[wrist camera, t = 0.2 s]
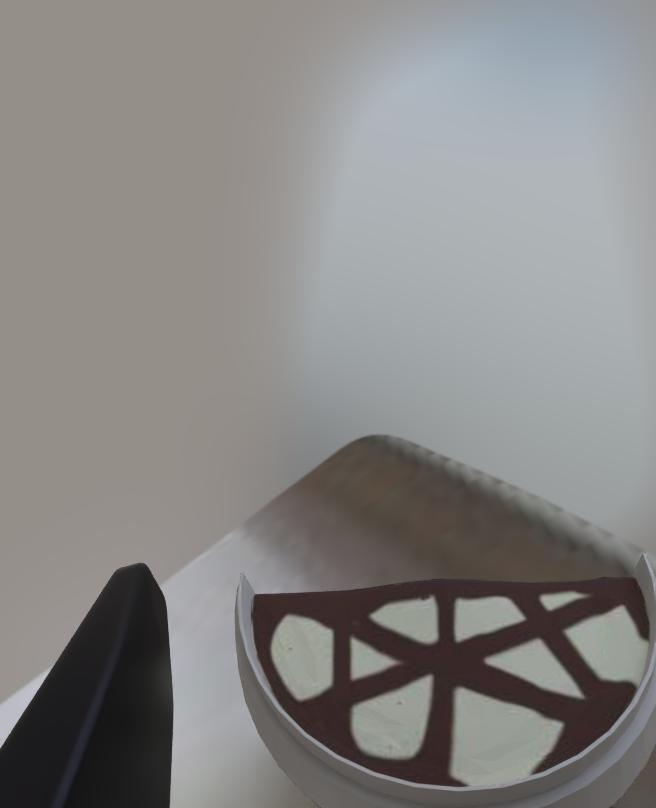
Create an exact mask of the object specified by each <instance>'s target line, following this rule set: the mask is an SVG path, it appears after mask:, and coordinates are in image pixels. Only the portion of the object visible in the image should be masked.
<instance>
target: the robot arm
mask: <svg viewBox="0 0 656 808" xmlns="http://www.w3.org/2000/svg"><path fill="white" fill-rule="evenodd" d="M172 738H173V688H172V674H171V660H170V646H169V632H168V619H167V606H166V601H165V598H164V595H163V593H162V591H161V589H160V587H159V586H158V584H157V582H156V580H155V579H154V577H153V575H152V573H151V571H150V570H149V568H148V567H147V565H146V564H144V563H137V564H133V565H129V566H126V567H122V568H119V569H118V570H117V571H115V573H114V574H113V575H112V577H111V578H110V580H109V581H108V583H107V584H106V586H105V587H104V589H103V591H102V592H101V594H100V595H99V597H98V598H97V600H96V602H95V603H94V604H93V606H92V608H91V609H90V611H89V612H88V614H87V615H86V617H85V618H84V620H83V621H82V623H81V625H80V626H79V628H78V629H77V631H76V632H75V634H74V635H73V637H72V639H71V640H70V642H69V643H68V645H67V646H66V648H65V649H64V651H63V652H62V654H61V656H60V657H59V659H58V660H57V662H56V663H55V665H54V666H53V668H52V669H51V671H50V673H49V674H48V676H47V677H46V679H45V680H44V682H43V683H42V685H41V686H40V688H39V690H38V691H37V693H36V694H35V696H34V697H33V699H32V700H31V702H30V704H29V705H28V707H27V708H26V710H25V711H24V713H23V714H22V716H21V717H20V719H19V721H18V722H17V724H16V725H15V727H14V728H13V730H12V731H11V733H10V734H9V736H8V738H7V739H6V741H5V742H4V744H3V745H2V747H1V748H0V808H170V787H171V763H172Z"/></svg>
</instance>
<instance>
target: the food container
mask: <svg viewBox="0 0 656 808" xmlns="http://www.w3.org/2000/svg"><path fill="white" fill-rule="evenodd" d="M235 636H236V648H237V658H238V668H239V674H240V678H241V683H242V687H243V692H244V697H245V701H246V704H247V706H248V709H249V711H250V714H251V716H252V719H253V721H254V724H255V726H256V729H257V731H258V734H259V735H260V737H261V739H262V740H263V742H264V743H265V745H266V747H267V748H268V750H269V751H270V753H271V754H272V756H273V758H274V759H275V761H276V762H277V764H278V766H279V767H280V768H281V769H282V770H283V771H284V772H285V773H286V774H287V776H288V777H289V778H290V779H291V780H292V781H293V782H294V783H295V785H296V786H297V787H298V788H299V789H300V790H301V791H302V792H303V793H304V795H306V796H307V797H308V798H310V799H311V800H312V801H313V802H315V803H316V804H317V805H319V806H320V807H321V808H609V807H610V806H612V805H613V804H614V803H615V802H616V801H617V800H619V799H620V798H621V797H622V796H623V795H624V794H625V792H626V791H627V790H628V788H629V787H630V786H631V784H632V783H633V782H634V780H635V779H636V777H637V776H638V775H639V773H640V772H641V771H642V769H643V768H644V767H645V765H646V764H647V762H648V759H649V757H650V755H651V753H652V750H653V748H654V746H655V744H656V577H655V574H654V572H653V569H652V567H651V565H650V562H649V560H648V557H647V554H646V553H642V555H641V558H640V560H639V562H638V564H637V566H636V568H635V571H634V573H633V575H632V577H622V578H613V577H602V578H597V579H592V580H581V581H564V582H502V581H483V580H454V579H431V580H423V581H414V582H404V583H398V584H391V585H385V586H378V587H371V588H363V589H355V590H347V591H326V592H305V593H281V594H255V592H254V591H253V589H252V587H251V585H250V584H249V582H248V580H247V579H246V577H245V575H244V573H241V574H240V583H239V587H238V589H237V596H236V604H235Z"/></svg>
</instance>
